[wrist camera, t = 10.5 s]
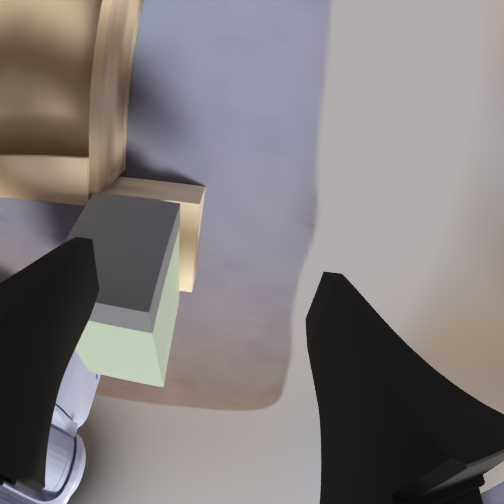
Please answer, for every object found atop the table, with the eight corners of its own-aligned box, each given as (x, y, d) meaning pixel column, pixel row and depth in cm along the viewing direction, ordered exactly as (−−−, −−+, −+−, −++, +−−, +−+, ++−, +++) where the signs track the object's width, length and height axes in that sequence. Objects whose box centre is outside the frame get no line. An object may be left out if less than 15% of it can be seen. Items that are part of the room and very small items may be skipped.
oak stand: (196, 268, 21) (191, 292, 19) (114, 256, 21) (102, 277, 19) (205, 186, 18) (199, 204, 16) (110, 175, 18) (94, 191, 16)
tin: (179, 300, 20) (163, 387, 16) (114, 289, 20) (89, 371, 16) (180, 203, 14) (148, 312, 10) (93, 192, 14) (39, 289, 10)
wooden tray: (125, 177, 18) (97, 207, 14) (-26, 168, 16) (-61, 191, 13) (158, -61, 10) (134, -88, 6) (-17, -17, 8) (-56, -18, 5)
